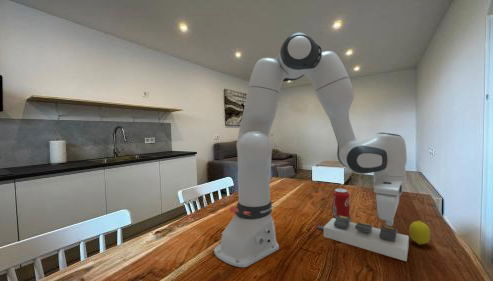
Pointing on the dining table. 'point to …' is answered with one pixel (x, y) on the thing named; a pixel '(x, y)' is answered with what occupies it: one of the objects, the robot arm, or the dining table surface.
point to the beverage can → (341, 203)
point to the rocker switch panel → (368, 240)
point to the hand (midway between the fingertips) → (389, 224)
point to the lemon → (419, 232)
